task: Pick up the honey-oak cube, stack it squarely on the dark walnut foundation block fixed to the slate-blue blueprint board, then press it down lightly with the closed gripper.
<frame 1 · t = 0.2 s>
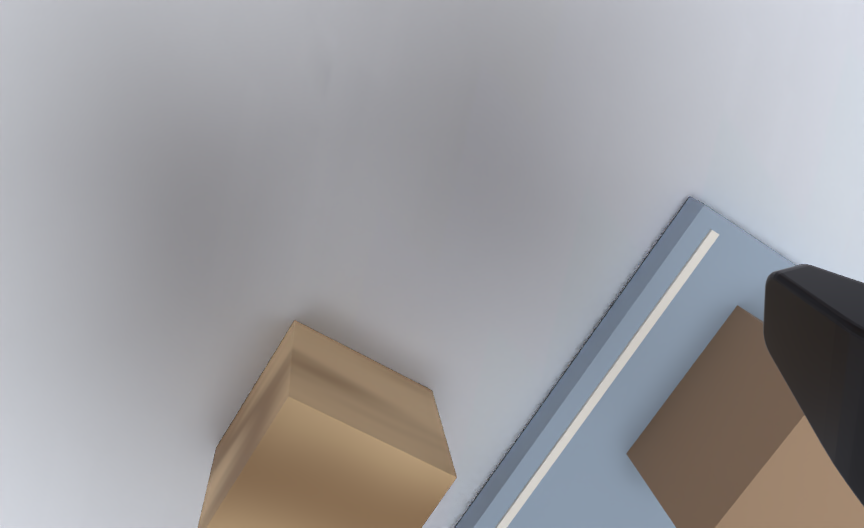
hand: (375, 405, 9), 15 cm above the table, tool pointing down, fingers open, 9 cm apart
blueprint board: (681, 473, 28), on the table
oak cube: (324, 417, 25), on the table
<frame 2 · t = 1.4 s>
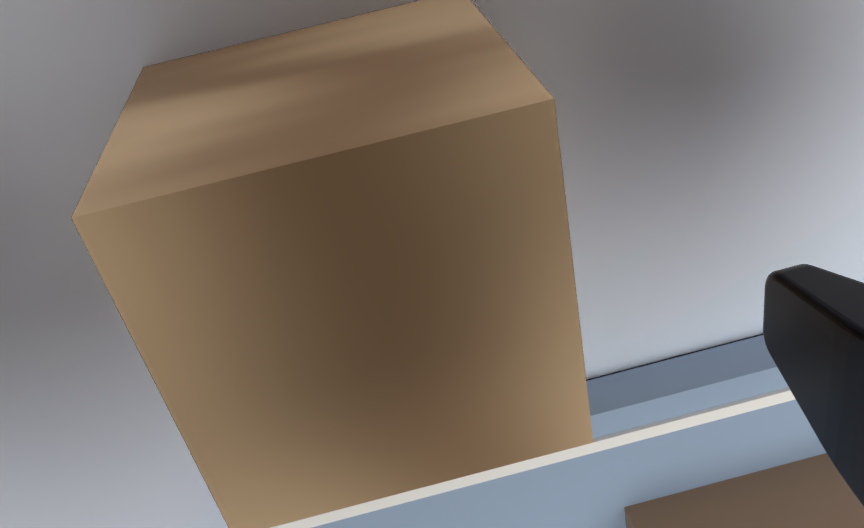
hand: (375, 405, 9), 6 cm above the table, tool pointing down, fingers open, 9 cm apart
oak cube: (344, 170, 14), on the table
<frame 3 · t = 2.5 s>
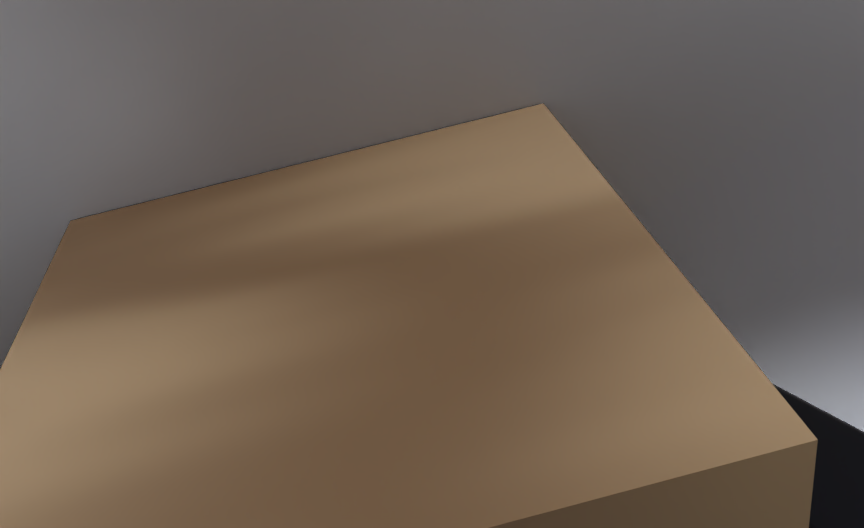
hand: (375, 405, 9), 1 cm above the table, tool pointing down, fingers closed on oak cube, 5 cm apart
oak cube: (366, 347, 10), on the table, touching gripper
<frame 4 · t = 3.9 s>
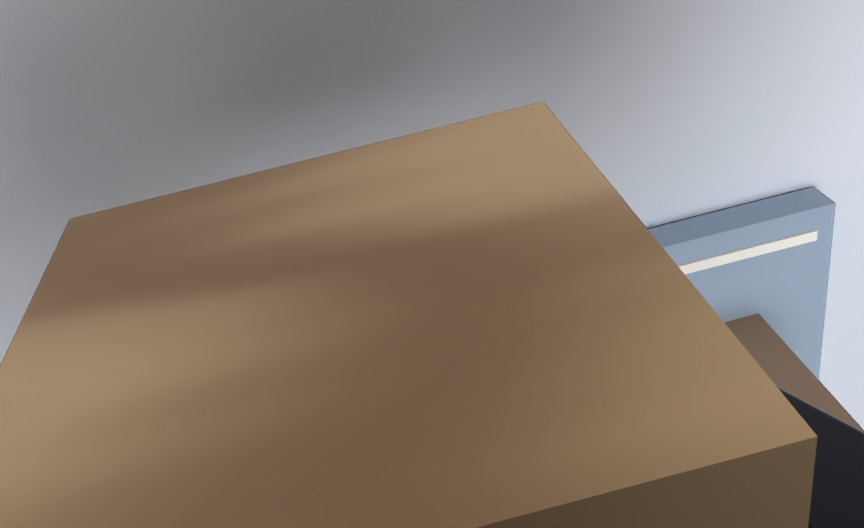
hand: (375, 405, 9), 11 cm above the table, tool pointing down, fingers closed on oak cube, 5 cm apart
blueprint board: (552, 420, 24), on the table
oak cube: (365, 345, 10), point 10 cm above the table, touching gripper
when the fingers open (8 cm above the table, at t = 5.7 s): oak cube stays where it is, resting on blueprint board.
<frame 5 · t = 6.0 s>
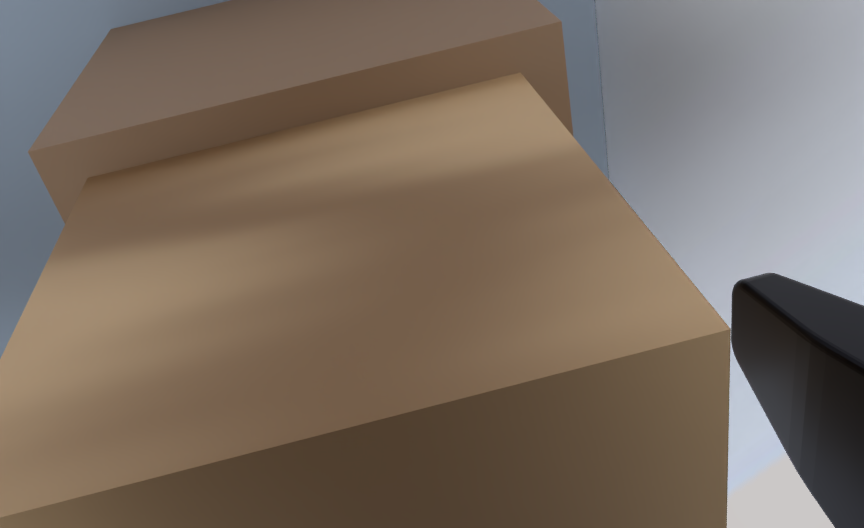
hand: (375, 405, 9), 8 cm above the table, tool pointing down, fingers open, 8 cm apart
blueprint board: (183, 168, 15), on the table
oak cube: (358, 301, 10), point 6 cm above the table, touching blueprint board
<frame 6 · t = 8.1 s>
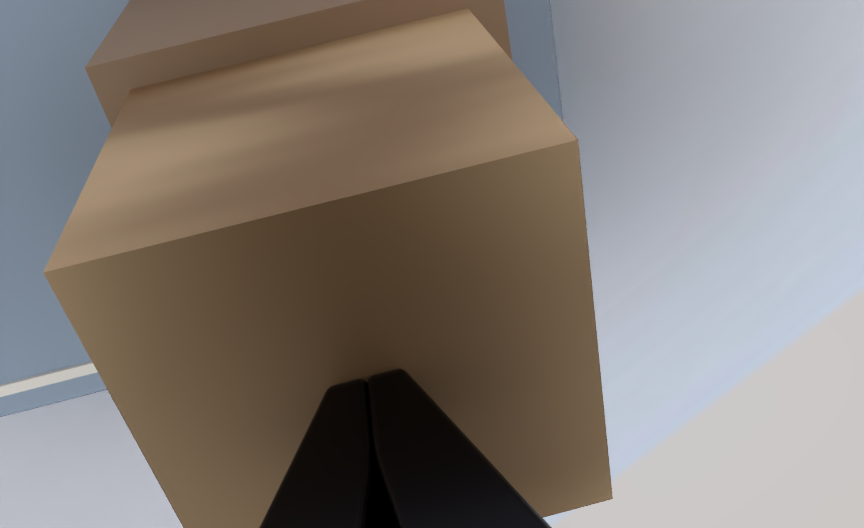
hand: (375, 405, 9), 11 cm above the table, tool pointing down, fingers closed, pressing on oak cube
blueprint board: (196, 113, 18), on the table
oak cube: (343, 198, 13), point 6 cm above the table, touching blueprint board, gripper
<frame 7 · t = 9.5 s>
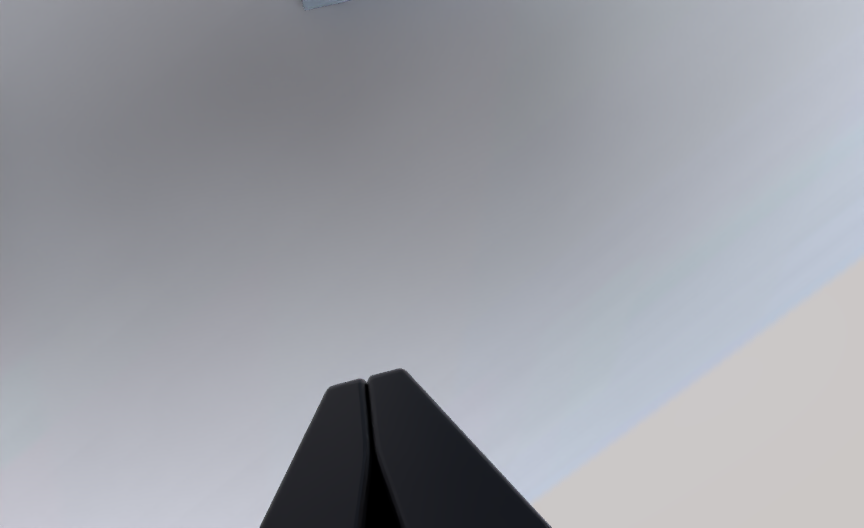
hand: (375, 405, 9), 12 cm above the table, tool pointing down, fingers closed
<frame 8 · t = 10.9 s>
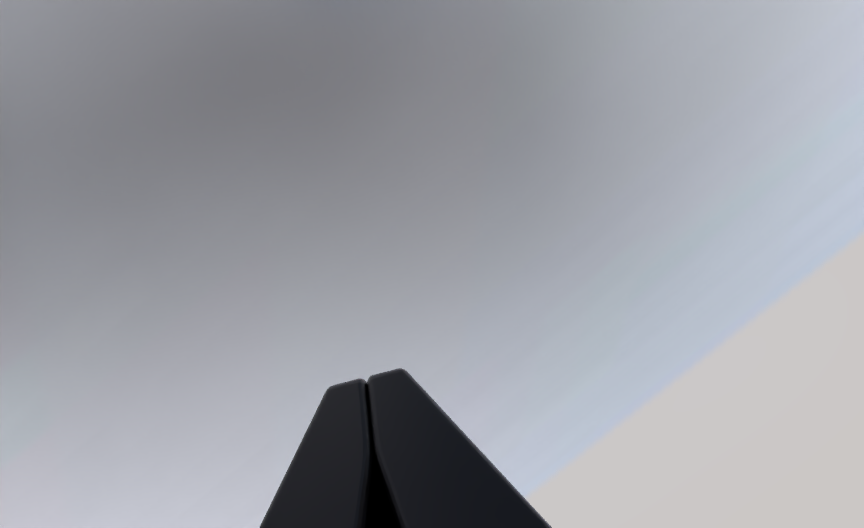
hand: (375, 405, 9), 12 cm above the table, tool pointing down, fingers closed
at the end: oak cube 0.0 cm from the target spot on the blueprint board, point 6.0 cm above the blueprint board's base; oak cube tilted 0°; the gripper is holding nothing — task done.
